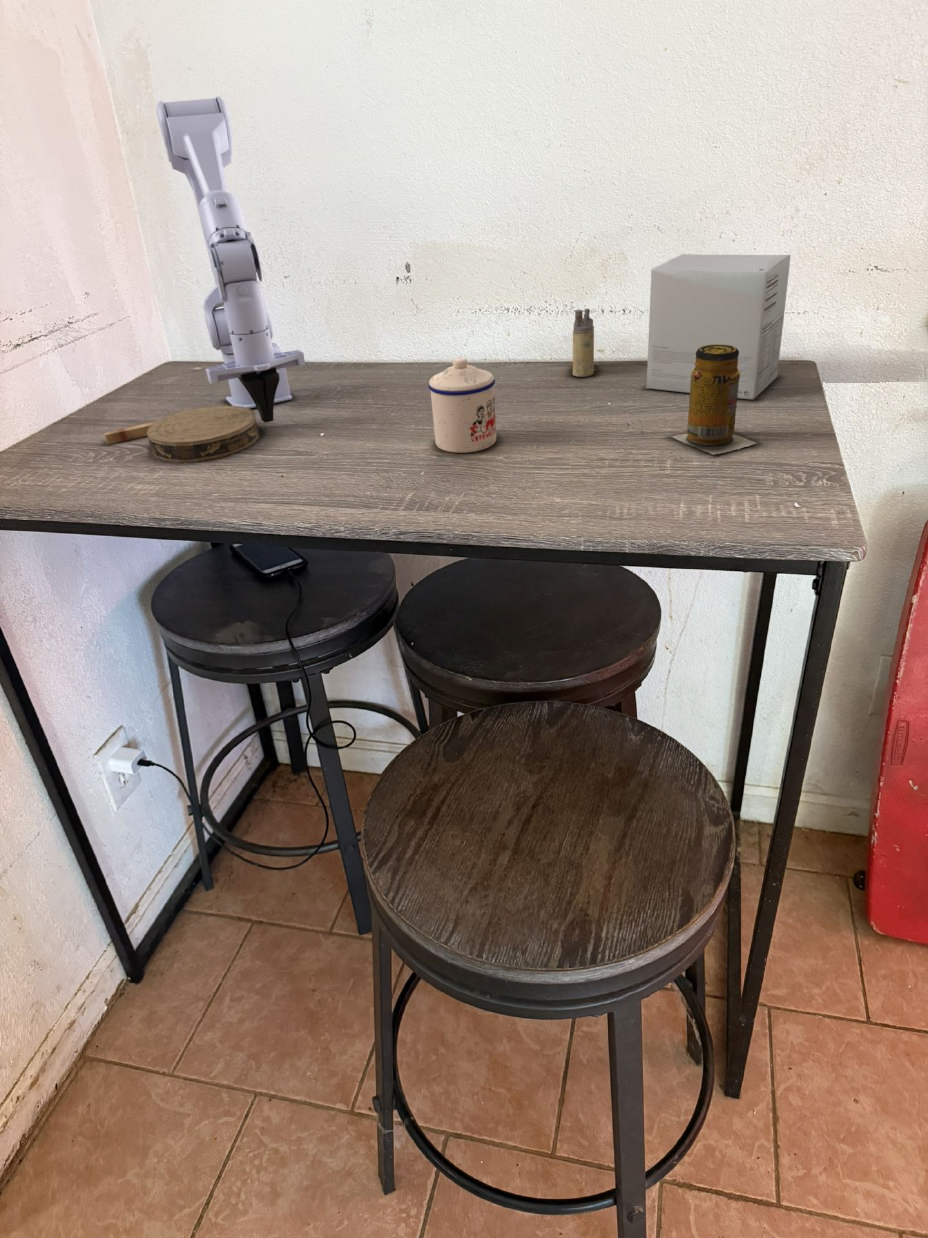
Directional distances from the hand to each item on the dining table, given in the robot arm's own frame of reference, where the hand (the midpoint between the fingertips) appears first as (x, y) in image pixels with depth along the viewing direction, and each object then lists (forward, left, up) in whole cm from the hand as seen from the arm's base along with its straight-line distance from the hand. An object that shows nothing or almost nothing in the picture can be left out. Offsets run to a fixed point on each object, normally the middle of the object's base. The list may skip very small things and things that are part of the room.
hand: (267, 419), depth 130 cm
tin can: (+10, 0, -1) cm, 10 cm away
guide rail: (+14, -10, -1) cm, 17 cm away
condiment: (-47, +47, -1) cm, 67 cm away
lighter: (-53, +9, -1) cm, 54 cm away
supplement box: (-64, +28, -1) cm, 70 cm away
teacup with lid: (-22, +25, -1) cm, 33 cm away
